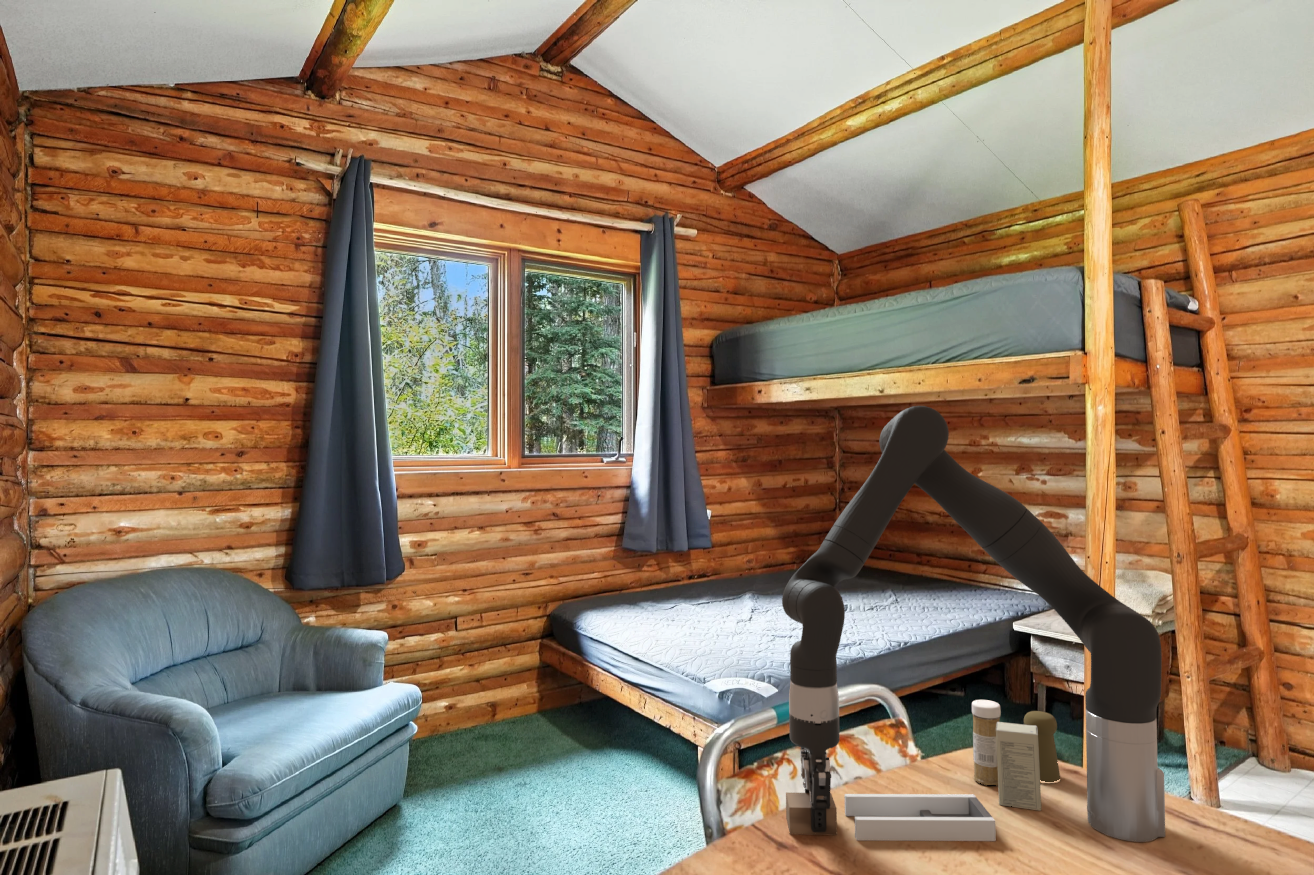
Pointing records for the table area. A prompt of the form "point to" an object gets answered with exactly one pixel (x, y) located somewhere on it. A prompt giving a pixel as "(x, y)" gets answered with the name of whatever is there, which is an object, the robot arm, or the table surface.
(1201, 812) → the table surface
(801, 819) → the walnut block
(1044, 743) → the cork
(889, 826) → the trap channel
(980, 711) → the sprinkles bottle
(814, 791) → the robot arm
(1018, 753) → the skincare box
